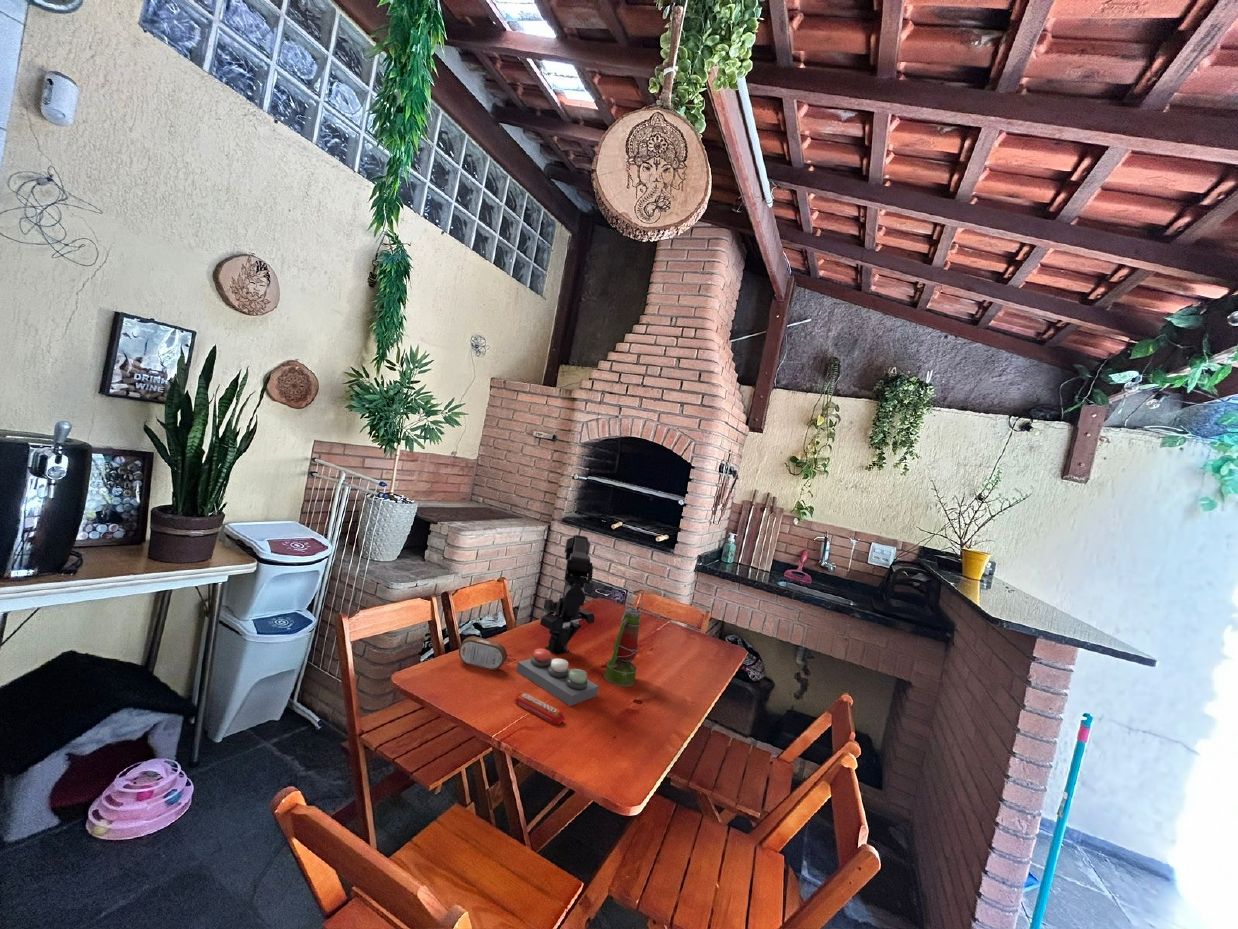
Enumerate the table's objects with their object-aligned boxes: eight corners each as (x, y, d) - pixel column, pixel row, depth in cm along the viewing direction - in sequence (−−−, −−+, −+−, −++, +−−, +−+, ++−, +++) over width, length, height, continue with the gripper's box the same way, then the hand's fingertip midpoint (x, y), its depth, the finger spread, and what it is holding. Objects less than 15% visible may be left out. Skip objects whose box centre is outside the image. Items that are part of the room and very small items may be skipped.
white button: (559, 663, 165) (560, 657, 165) (570, 670, 162) (571, 664, 162) (547, 666, 161) (548, 660, 161) (558, 673, 158) (560, 667, 158)
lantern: (619, 690, 165) (637, 598, 164) (594, 676, 172) (611, 587, 171) (644, 680, 176) (661, 593, 175) (619, 667, 183) (636, 584, 182)
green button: (577, 674, 160) (578, 667, 160) (589, 681, 157) (590, 674, 157) (565, 677, 156) (566, 671, 156) (577, 685, 153) (578, 678, 153)
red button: (542, 653, 170) (543, 647, 170) (552, 659, 167) (554, 653, 167) (530, 656, 166) (531, 650, 166) (541, 663, 163) (542, 656, 163)
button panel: (544, 663, 174) (546, 650, 174) (597, 695, 159) (600, 681, 159) (516, 671, 165) (518, 657, 164) (569, 706, 150) (572, 691, 149)
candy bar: (511, 703, 145) (513, 693, 145) (520, 699, 149) (522, 689, 148) (557, 728, 138) (559, 717, 137) (565, 723, 141) (567, 712, 141)
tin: (504, 670, 164) (509, 644, 164) (501, 674, 161) (506, 647, 161) (459, 659, 166) (464, 633, 165) (455, 662, 162) (460, 636, 162)
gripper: (574, 586, 173) (565, 632, 174) (532, 591, 159) (523, 641, 159) (599, 597, 166) (590, 645, 167) (558, 603, 152) (548, 655, 152)
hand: (563, 646), depth 161 cm, fingers closed
